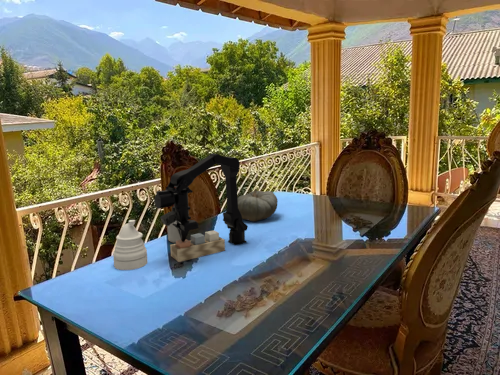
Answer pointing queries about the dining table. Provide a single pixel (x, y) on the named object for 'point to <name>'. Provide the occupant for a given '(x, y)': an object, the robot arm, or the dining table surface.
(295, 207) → the dining table surface
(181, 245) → the salmon rounded block
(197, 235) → the slate key
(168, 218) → the robot arm
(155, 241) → the dining table surface
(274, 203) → the gourd
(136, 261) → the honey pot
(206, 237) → the ivory key
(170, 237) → the can
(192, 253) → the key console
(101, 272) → the dining table surface
